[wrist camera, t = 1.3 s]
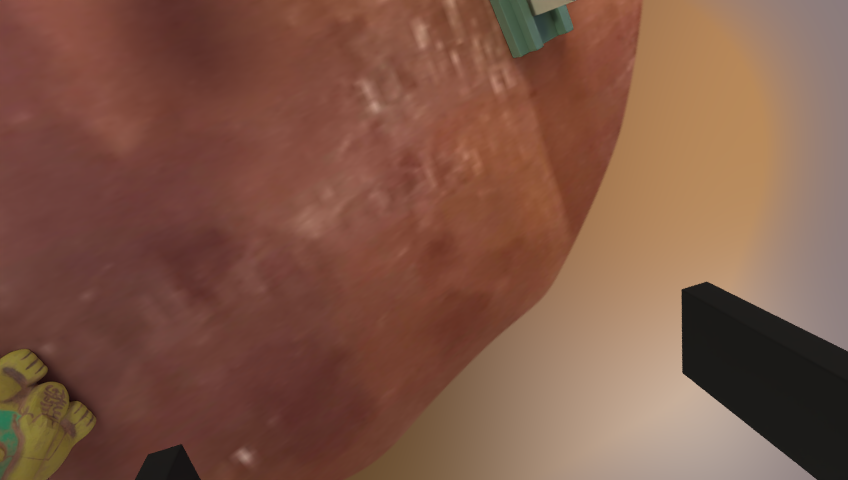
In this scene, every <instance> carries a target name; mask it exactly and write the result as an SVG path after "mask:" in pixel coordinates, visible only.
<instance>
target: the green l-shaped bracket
mask: <svg viewBox="0 0 848 480" xmlns="http://www.w3.org/2000/svg"><path fill="white" fill-rule="evenodd" d="M490 2H491V5H492V7H493V10H494V12H495V15H496V17H497V19H498V22H499V24H500V27H501V29H502V32H503V34H504V37H505V39H506V41H507V44H508V46H509V49H510V51H511V54H512V56H513V58H517V57H522V56H524V55H525V54H527V53H529V52H531V51H536V50H539V49H540V48H542V47H543V46H544V45H543V44H544V43H546V42H547V41H549V40H551V39H553V38H554V37H556V36H558V35H561V34H565V33H568V32H569V31H571V30H573V24H572V22H571V19H570V16H569V13H568V10H567V7H566V4H565V5H563V6H560V7H558V8H555V9H552V10H550V11H547V12H544V13H542V14H539V15H537V16H534V17H533V16H532V14H531V11H530V8H529V6H528V3H527V1H526V0H490Z"/></svg>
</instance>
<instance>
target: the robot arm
mask: <svg viewBox="0 0 848 480" xmlns="http://www.w3.org/2000/svg"><path fill="white" fill-rule="evenodd" d="M682 366H683V367H682V368H683V369H682V370H683V371H682V372H683V374H684V375H686V376H687V377H688V378H690V379H691V380H692V381H693V382H695V383H696V384H697V385H698V386H700V387H701V388H702V389H703V390H705V391H706V392H707V393H709V394H710V395H711V396H712V397H714V398H715V399H716V400H717V401H719V402H720V403H721V404H722V405H724V406H725V407H726V408H727V409H729V410H730V411H731V412H732V413H734V414H735V415H736V416H738V417H739V418H740V419H741V420H743V421H744V422H745V423H746V424H748V425H749V426H750V427H751V428H753V429H754V430H755V431H756V432H758V433H759V434H760V435H761V436H763V437H764V438H765V439H767V440H768V441H769V442H770V443H772V444H773V445H774V446H775V447H777V448H778V449H779V450H780V451H782V452H783V453H784V454H786V455H787V456H788V457H789V458H791V459H792V460H793V461H794V462H796V463H797V464H798V465H799V466H801V467H802V468H803V469H804V470H806V471H807V472H808V473H809V474H811V475H812V476H813V477H814V478H816V479H817V480H848V351H846V350H844V349H842V348H840V347H838V346H836V345H834V344H832V343H830V342H828V341H826V340H823V339H822V338H819V337H818V336H816V335H813V334H811V333H809V332H807V331H805V330H803V329H801V328H799V327H797V326H795V325H793V324H791V323H789V322H787V321H785V320H783V319H781V318H779V317H777V316H775V315H773V314H771V313H769V312H767V311H765V310H763V309H761V308H759V307H757V306H755V305H753V304H751V303H749V302H747V301H745V300H743V299H741V298H739V297H737V296H735V295H733V294H731V293H729V292H727V291H724V290H723V289H721V288H719V287H717V286H715V285H713V284H711V283H708V282H704V283H701V284H698V285H694V286H691V287H688V288H685V289H682ZM135 480H201V479H200V478H199V476H198V474H197V472H196V470H195V468H194V466H193V464H192V463H191V461H190V459H189V457H188V455H187V453H186V451H185V449H184V448H183V446H182V444H181V445H177V446H174V447H171V448H168V449H164V450H161V451H158V452H155V453H151V454H148V456H147V458H146V459H145V461H144V463H143V465H142V467H141V469H140V471H139V473H138V475H137V477H136V479H135Z"/></svg>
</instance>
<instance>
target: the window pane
mask: <svg viewBox="0 0 848 480" xmlns="http://www.w3.org/2000/svg"><path fill="white" fill-rule="evenodd" d="M526 1H527V3H528V6H529V8H530V11H531V14H532V16H533V17H534V16H537V15H539V14H542V13H544V12H547V11H550V10H552V9H555V8H558V7H560V6H563V5H565V4H568V3H571V2H573V1H576V0H526Z"/></svg>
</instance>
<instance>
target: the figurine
mask: <svg viewBox="0 0 848 480" xmlns="http://www.w3.org/2000/svg"><path fill="white" fill-rule="evenodd" d="M47 370H48V368H47V367H46V366H45V365H44V364H43V363H42V361H41V360H40V359H39V358H37V356H36V355H35V354H34V353H32V352H31V351H30V350H28V349H20V350H17V351H14V352H11V353H8V354H7V355H5V356H4V357H2V358H0V480H46V479H48V478H49V477H50V476H51V475H52V474H53V473H54V472H55V471H56V470H57V469H58V468H59V467H60V466H61V464H62V463H63V462H64V460H65V459H66V458H67V456H68V454H69V452H70V450H71V449H72V447H73V446H74V445H75V444H76V443H77V442H78V441H80V440H81V439H82V438H84V437H85V436H86V435H87V434H88V433H89V432H90V431H91V430H92V428H93V427H94V425H95V423H96V417H95V416H94V415H93V414H92V412H91V411H89V410H88V409H87V407H86V406H85V405H83V404H82V403H81V402H79V401H72V402H69V395H68V392H67V390H66V388H65V387H64V386H63V385H62V384H60V383H57V382H46V383H43V384H40V385H38V384H37V383H36V382H37V381H39V380H40V379H42V378H43V377H44V376H45V375H46V373H47Z"/></svg>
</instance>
